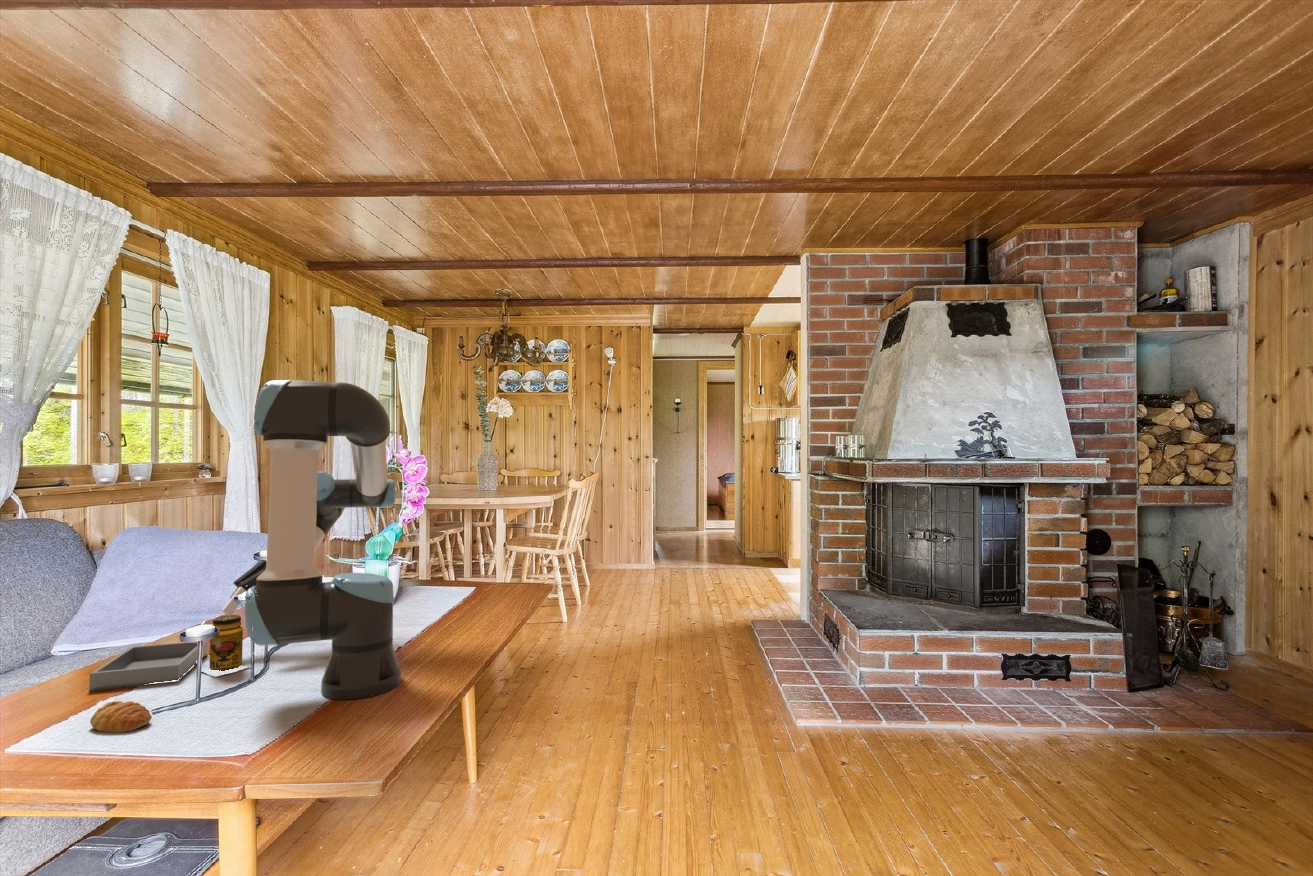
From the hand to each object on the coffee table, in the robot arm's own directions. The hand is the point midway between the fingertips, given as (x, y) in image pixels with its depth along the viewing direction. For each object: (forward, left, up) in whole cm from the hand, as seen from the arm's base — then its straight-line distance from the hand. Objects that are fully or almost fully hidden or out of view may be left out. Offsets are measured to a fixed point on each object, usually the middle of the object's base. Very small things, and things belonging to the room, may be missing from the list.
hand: (248, 615), depth 144 cm
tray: (-2, +18, -11) cm, 21 cm away
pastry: (-33, +12, -11) cm, 36 cm away
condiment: (-6, +3, -11) cm, 13 cm away
